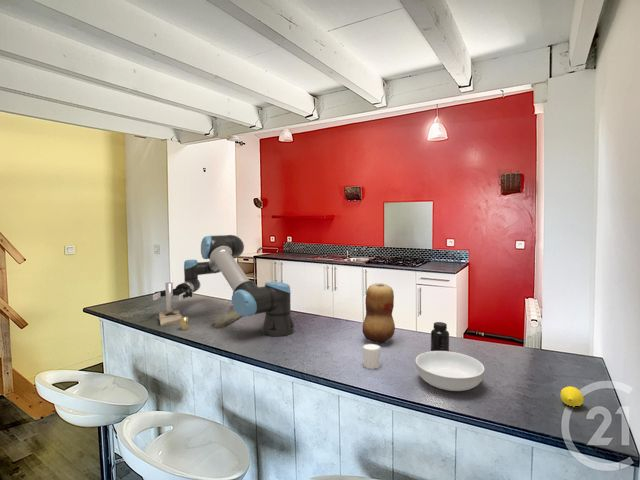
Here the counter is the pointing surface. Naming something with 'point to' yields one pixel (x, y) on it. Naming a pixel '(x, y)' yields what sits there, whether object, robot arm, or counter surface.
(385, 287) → the butternut squash
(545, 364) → the counter surface
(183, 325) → the brass stub pin
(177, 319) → the guide block
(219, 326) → the elongated rock
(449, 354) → the serving bowl
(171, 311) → the steel pin
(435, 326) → the supplement bottle
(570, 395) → the lemon
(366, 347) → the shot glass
